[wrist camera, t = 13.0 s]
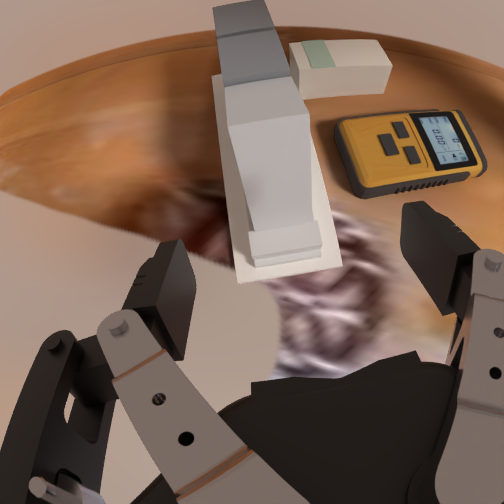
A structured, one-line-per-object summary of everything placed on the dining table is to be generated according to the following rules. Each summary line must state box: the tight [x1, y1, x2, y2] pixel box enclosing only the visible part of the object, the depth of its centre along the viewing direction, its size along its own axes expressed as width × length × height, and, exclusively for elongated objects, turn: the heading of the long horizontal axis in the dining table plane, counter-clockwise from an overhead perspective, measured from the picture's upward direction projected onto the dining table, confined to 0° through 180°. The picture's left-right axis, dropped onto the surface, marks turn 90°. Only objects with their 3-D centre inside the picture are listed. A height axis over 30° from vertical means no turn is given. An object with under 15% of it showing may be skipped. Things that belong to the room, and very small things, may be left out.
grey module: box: [225, 76, 312, 232], centre depth 21 cm, size 5×5×10 cm
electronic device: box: [334, 110, 487, 199], centre depth 27 cm, size 8×16×3 cm, turn 101°
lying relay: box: [289, 39, 393, 100], centre depth 28 cm, size 10×4×5 cm, turn 98°
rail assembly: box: [212, 0, 343, 284], centre depth 24 cm, size 9×24×12 cm, turn 8°
